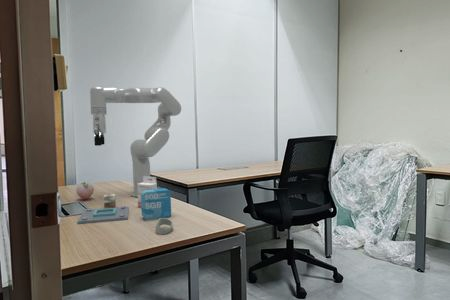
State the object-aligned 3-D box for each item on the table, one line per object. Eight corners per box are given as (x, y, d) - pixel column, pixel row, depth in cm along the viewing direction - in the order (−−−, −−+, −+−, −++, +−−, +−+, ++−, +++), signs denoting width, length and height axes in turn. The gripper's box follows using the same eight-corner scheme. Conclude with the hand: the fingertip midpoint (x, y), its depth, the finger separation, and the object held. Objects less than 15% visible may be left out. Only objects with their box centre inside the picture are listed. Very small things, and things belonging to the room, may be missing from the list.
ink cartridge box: (137, 207, 168) (136, 177, 167) (144, 205, 172) (142, 176, 171) (151, 209, 164) (150, 178, 163) (158, 206, 169) (157, 176, 168)
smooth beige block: (115, 205, 173) (115, 193, 172) (115, 208, 168) (114, 195, 167) (105, 206, 172) (104, 194, 171) (104, 208, 167) (103, 196, 166)
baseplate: (128, 208, 166) (128, 204, 166) (127, 219, 147) (127, 215, 147) (84, 211, 161) (84, 207, 161) (77, 224, 142) (77, 219, 142)
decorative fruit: (97, 199, 187) (96, 181, 187) (82, 202, 181) (81, 183, 180) (89, 197, 194) (88, 179, 193) (74, 199, 188) (73, 181, 187)
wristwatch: (159, 227, 136) (159, 215, 135) (175, 227, 135) (175, 215, 135) (152, 235, 127) (152, 221, 126) (169, 235, 126) (169, 221, 126)
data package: (143, 220, 145) (142, 192, 144) (141, 217, 150) (140, 190, 149) (171, 216, 150) (170, 189, 149) (168, 214, 154) (167, 187, 153)
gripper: (103, 110, 169) (104, 145, 170) (108, 112, 186) (109, 144, 187) (87, 110, 167) (88, 146, 168) (94, 112, 184) (95, 144, 185)
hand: (99, 144), depth 178 cm, fingers open, 9 cm apart
